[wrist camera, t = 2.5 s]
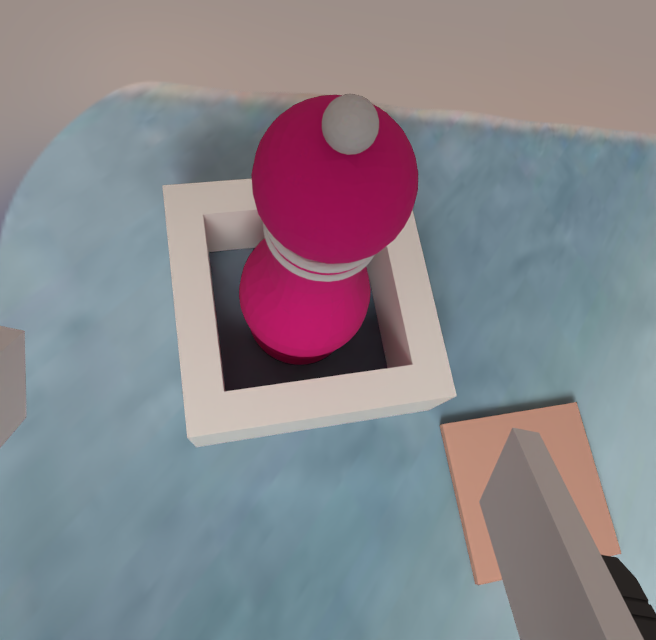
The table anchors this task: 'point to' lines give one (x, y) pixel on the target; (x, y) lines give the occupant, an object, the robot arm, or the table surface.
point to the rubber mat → (482, 455)
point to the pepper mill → (323, 222)
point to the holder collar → (307, 395)
